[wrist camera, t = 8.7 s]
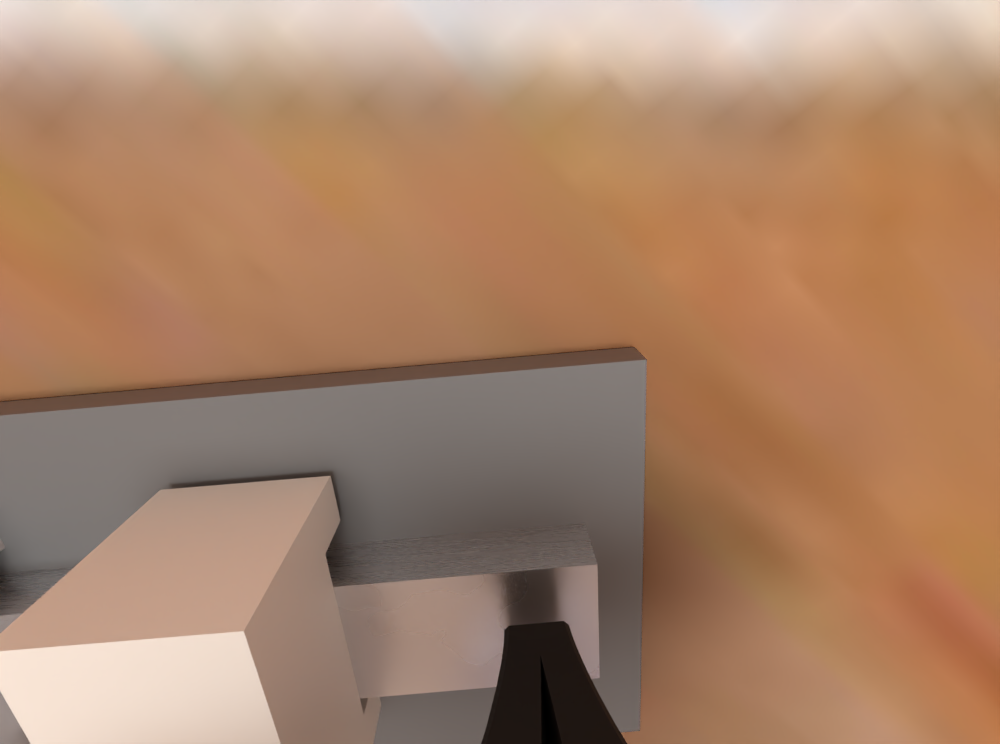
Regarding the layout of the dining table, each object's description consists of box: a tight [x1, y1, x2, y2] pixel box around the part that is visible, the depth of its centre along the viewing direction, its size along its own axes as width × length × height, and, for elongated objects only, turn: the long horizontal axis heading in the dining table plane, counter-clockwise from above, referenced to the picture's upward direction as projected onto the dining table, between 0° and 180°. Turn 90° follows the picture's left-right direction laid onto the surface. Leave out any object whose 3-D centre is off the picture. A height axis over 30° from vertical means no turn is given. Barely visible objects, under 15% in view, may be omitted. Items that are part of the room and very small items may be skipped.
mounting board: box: [0, 347, 647, 744], centre depth 14 cm, size 12×22×1 cm, turn 95°
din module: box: [0, 476, 381, 744], centre depth 10 cm, size 8×4×5 cm, turn 4°
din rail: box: [0, 523, 600, 727], centre depth 12 cm, size 4×19×2 cm, turn 95°
